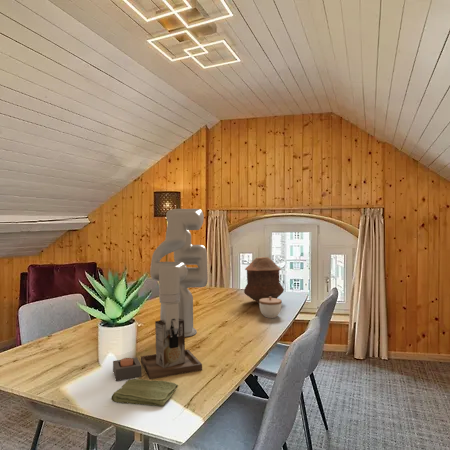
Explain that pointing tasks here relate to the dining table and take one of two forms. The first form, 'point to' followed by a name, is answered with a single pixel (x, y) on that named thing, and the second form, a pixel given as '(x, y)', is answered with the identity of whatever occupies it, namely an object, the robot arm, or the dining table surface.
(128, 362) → the button cap
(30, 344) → the dining table surface
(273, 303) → the lidded bowl
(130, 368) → the button housing
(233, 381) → the dining table surface
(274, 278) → the pottery vessel
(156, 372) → the tray
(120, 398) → the washcloth
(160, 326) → the coffee box
